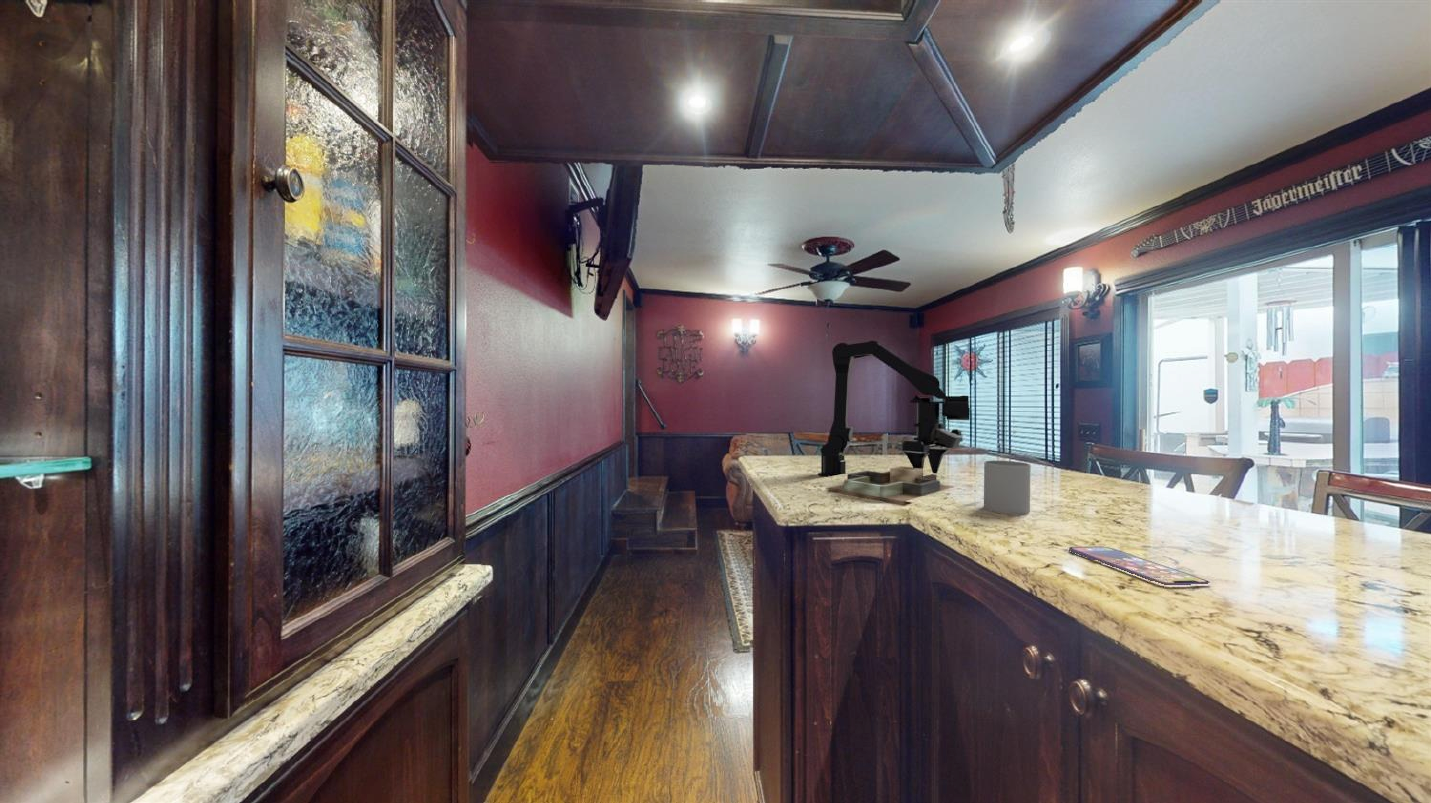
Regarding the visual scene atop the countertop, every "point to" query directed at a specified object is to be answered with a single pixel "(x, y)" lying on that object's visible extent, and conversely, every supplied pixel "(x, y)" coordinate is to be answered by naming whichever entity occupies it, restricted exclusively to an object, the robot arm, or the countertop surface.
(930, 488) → the trap lane
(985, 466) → the cup
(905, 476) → the maple block
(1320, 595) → the countertop surface
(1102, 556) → the smartphone
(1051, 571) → the countertop surface
